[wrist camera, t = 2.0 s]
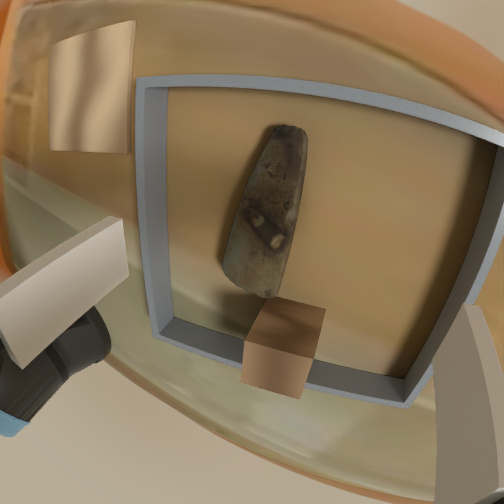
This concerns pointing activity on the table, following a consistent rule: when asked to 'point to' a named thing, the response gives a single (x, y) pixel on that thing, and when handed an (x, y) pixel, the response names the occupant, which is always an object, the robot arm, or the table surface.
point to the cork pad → (92, 90)
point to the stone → (268, 215)
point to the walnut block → (282, 346)
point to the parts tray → (231, 349)
